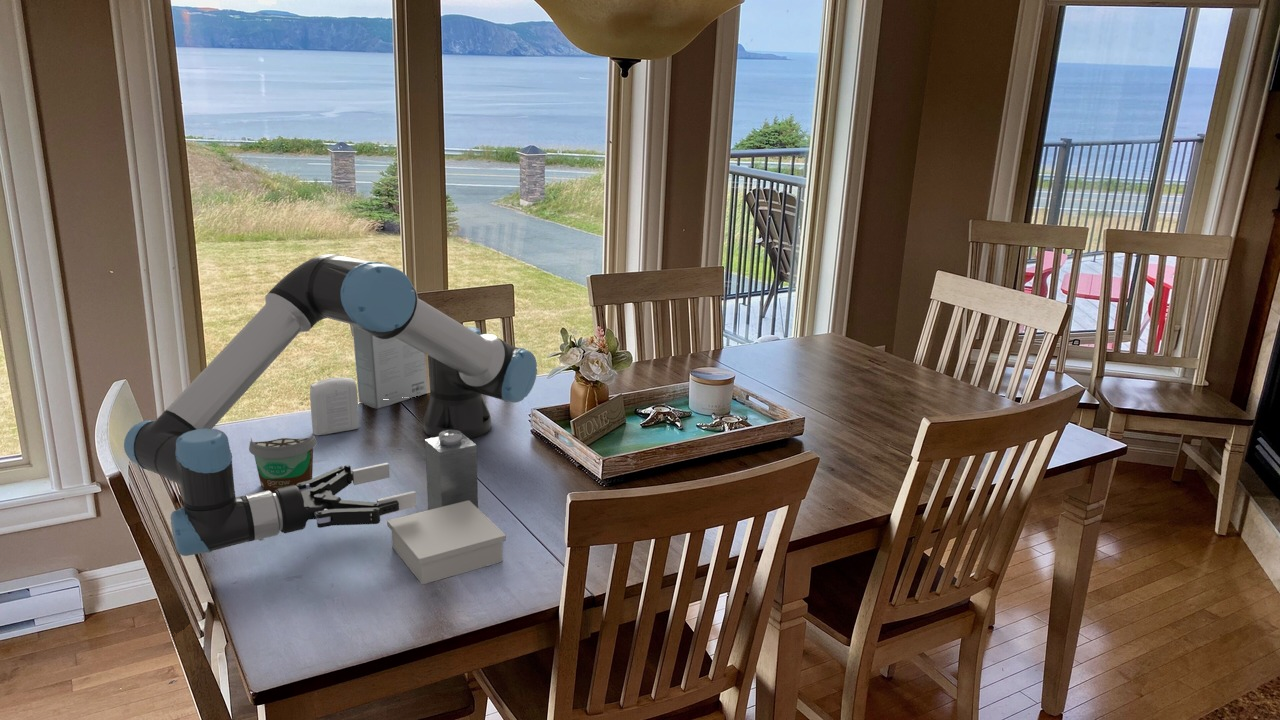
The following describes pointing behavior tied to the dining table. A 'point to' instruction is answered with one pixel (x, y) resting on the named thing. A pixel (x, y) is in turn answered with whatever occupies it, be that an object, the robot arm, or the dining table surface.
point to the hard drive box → (387, 370)
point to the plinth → (446, 541)
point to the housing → (451, 469)
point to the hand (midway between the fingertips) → (401, 483)
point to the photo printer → (334, 405)
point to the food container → (283, 461)
